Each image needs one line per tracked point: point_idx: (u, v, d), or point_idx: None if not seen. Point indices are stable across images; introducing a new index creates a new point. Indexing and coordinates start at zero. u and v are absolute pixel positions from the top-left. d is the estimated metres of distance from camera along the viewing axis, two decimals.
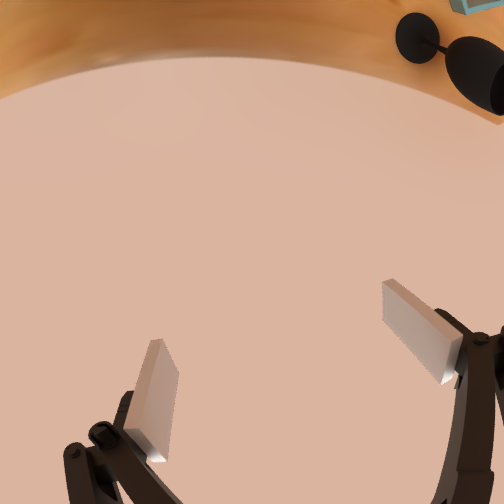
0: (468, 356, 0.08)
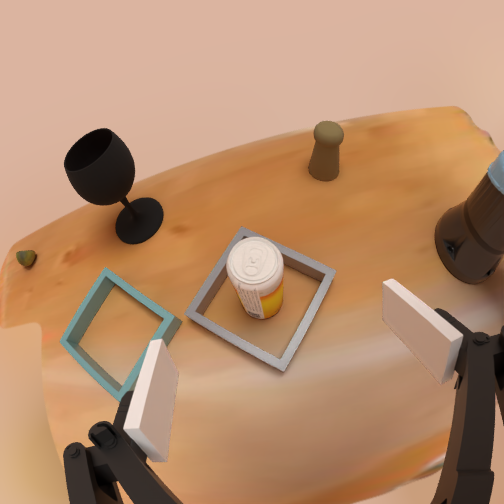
0: (468, 356, 0.08)
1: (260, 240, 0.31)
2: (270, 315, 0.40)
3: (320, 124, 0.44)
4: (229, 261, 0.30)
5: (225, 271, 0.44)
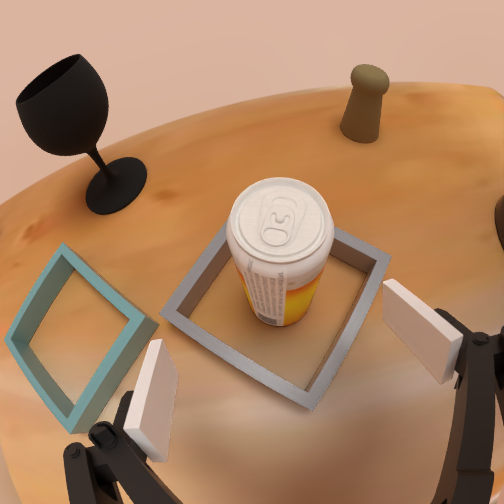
0: (468, 356, 0.08)
1: (291, 184, 0.16)
2: (292, 321, 0.26)
3: (359, 66, 0.29)
4: (232, 218, 0.15)
5: (225, 252, 0.29)
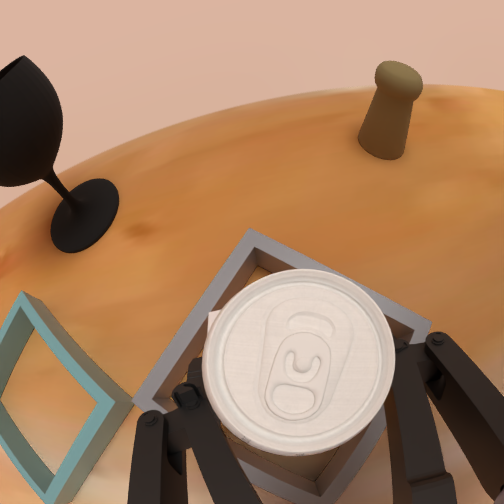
0: None
1: (324, 281, 0.08)
2: None
3: (386, 63, 0.21)
4: (210, 361, 0.07)
5: None
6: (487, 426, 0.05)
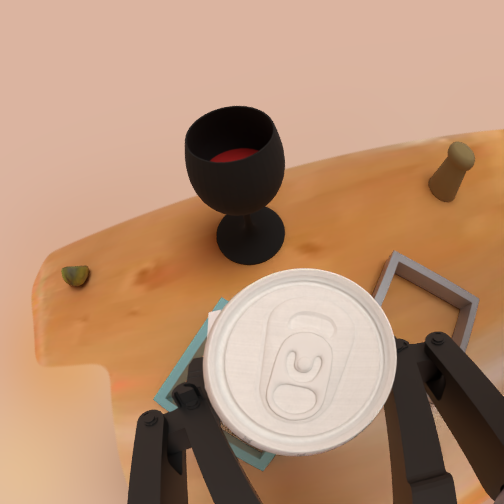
0: None
1: (326, 281, 0.08)
2: None
3: (456, 145, 0.35)
4: (211, 361, 0.07)
5: None
6: (487, 426, 0.05)
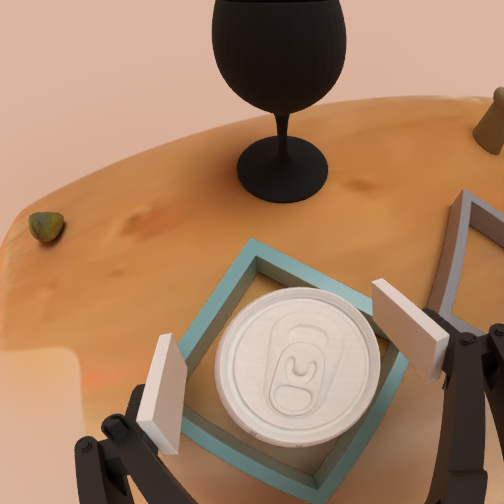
0: (455, 356, 0.09)
1: (320, 298, 0.10)
2: None
3: (502, 89, 0.23)
4: (223, 366, 0.09)
5: None
6: None
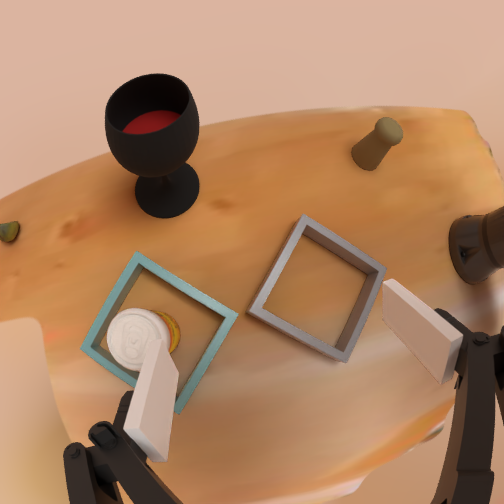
0: (468, 356, 0.08)
1: (141, 315, 0.24)
2: None
3: (385, 120, 0.40)
4: (108, 339, 0.23)
5: None
6: None
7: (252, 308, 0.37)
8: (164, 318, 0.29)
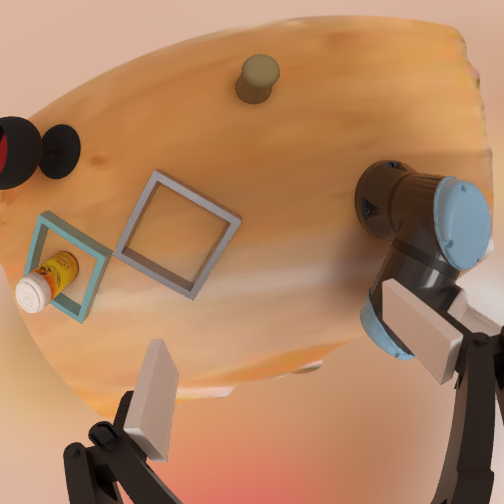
0: (468, 356, 0.08)
1: (27, 283, 0.33)
2: None
3: (251, 62, 0.31)
4: (17, 297, 0.33)
5: (142, 211, 0.45)
6: None
7: (114, 253, 0.45)
8: (50, 272, 0.38)
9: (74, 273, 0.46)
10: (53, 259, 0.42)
